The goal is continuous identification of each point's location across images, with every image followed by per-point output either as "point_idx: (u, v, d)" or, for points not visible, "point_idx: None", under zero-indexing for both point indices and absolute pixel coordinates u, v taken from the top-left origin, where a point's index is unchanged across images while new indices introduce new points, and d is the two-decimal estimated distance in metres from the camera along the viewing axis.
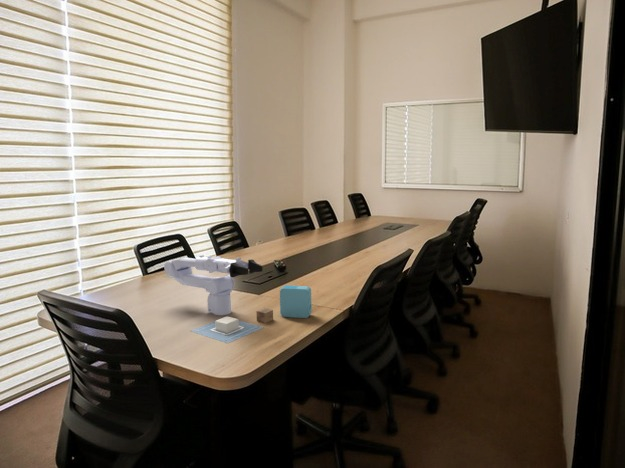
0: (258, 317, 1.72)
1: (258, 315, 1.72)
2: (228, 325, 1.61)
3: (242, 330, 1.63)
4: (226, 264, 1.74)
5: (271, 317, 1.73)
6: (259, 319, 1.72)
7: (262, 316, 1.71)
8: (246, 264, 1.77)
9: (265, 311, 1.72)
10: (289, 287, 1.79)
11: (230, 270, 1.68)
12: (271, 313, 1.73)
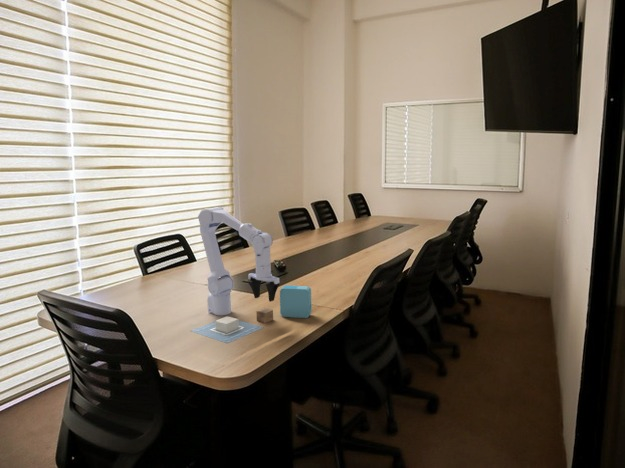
0: (258, 317, 1.72)
1: (258, 315, 1.72)
2: (228, 325, 1.61)
3: (242, 330, 1.63)
4: (270, 266, 1.70)
5: (271, 317, 1.73)
6: (259, 319, 1.72)
7: (262, 316, 1.71)
8: None
9: (265, 311, 1.72)
10: (289, 287, 1.79)
11: (275, 284, 1.67)
12: (271, 313, 1.73)
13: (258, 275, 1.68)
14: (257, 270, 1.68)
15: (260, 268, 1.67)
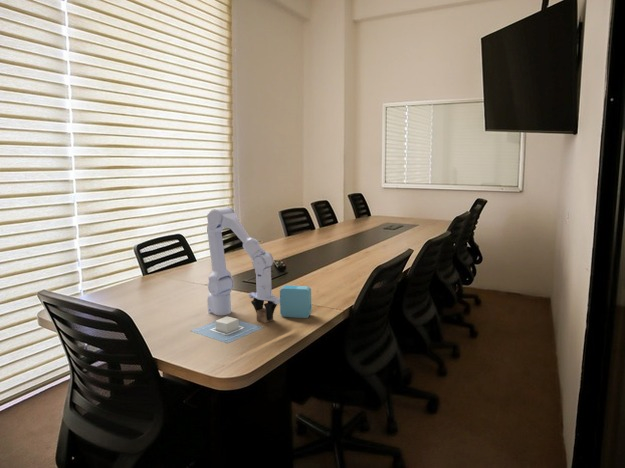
0: (258, 317, 1.72)
1: (258, 315, 1.72)
2: (228, 325, 1.61)
3: (242, 330, 1.63)
4: None
5: None
6: (259, 319, 1.72)
7: (262, 316, 1.71)
8: None
9: (265, 311, 1.72)
10: (289, 287, 1.79)
11: (273, 303, 1.69)
12: None
13: (259, 295, 1.70)
14: (258, 290, 1.70)
15: (261, 288, 1.69)
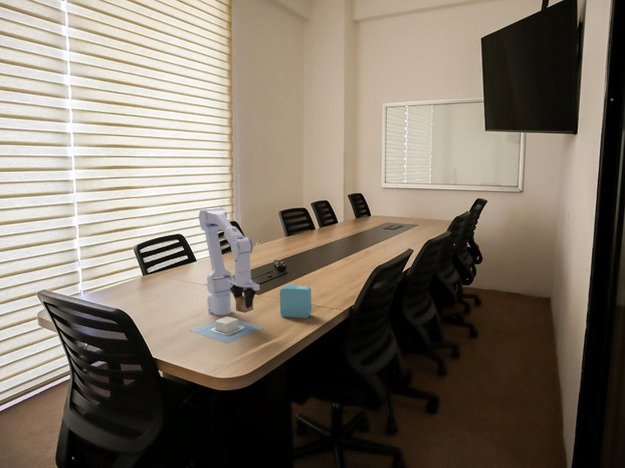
0: (237, 304, 1.66)
1: (237, 302, 1.66)
2: (228, 325, 1.61)
3: (242, 330, 1.63)
4: (250, 272, 1.65)
5: None
6: (238, 306, 1.66)
7: (241, 303, 1.65)
8: None
9: (244, 298, 1.66)
10: (289, 287, 1.79)
11: (252, 290, 1.64)
12: None
13: (237, 281, 1.64)
14: (236, 276, 1.64)
15: (239, 274, 1.63)
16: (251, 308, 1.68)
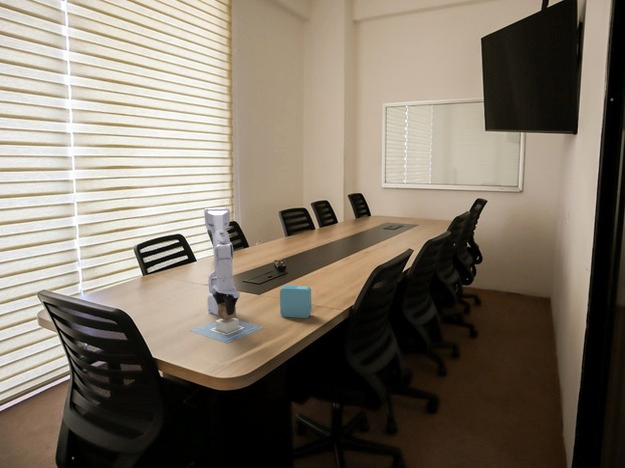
0: (219, 311, 1.63)
1: (219, 309, 1.63)
2: (228, 325, 1.61)
3: (242, 330, 1.63)
4: (231, 279, 1.61)
5: None
6: (220, 313, 1.63)
7: (222, 310, 1.61)
8: None
9: None
10: (289, 287, 1.79)
11: (233, 297, 1.59)
12: None
13: (218, 288, 1.60)
14: (217, 282, 1.60)
15: (220, 280, 1.59)
16: (233, 315, 1.63)
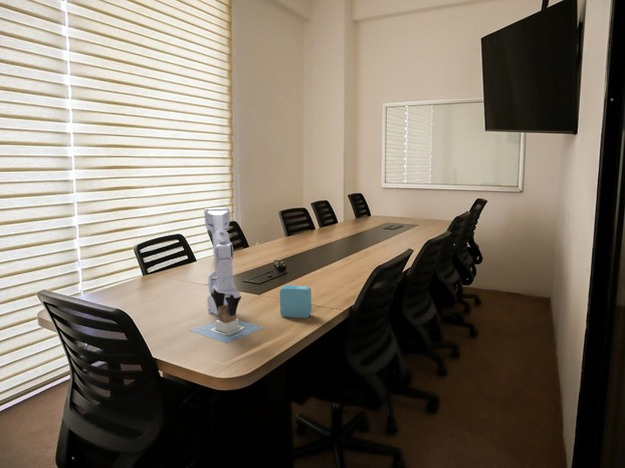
0: (219, 313, 1.63)
1: (219, 311, 1.63)
2: (228, 325, 1.61)
3: (242, 330, 1.63)
4: (231, 279, 1.61)
5: None
6: (220, 316, 1.63)
7: (222, 312, 1.62)
8: None
9: (226, 307, 1.62)
10: (289, 287, 1.79)
11: (235, 298, 1.58)
12: None
13: (218, 288, 1.60)
14: (217, 282, 1.60)
15: (220, 280, 1.59)
16: (233, 318, 1.63)
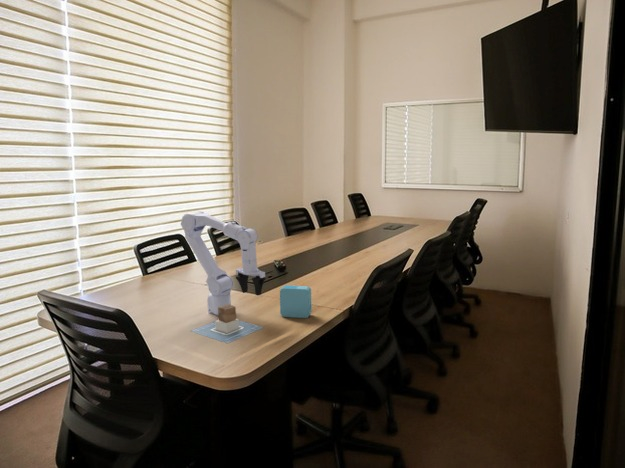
0: (219, 313, 1.63)
1: (219, 311, 1.63)
2: (228, 325, 1.61)
3: (242, 330, 1.63)
4: (256, 261, 1.74)
5: (233, 314, 1.63)
6: (220, 316, 1.63)
7: (222, 312, 1.62)
8: None
9: (226, 307, 1.62)
10: (289, 287, 1.79)
11: (261, 278, 1.72)
12: (234, 310, 1.63)
13: (244, 270, 1.73)
14: (243, 265, 1.73)
15: (246, 263, 1.72)
16: (233, 318, 1.63)
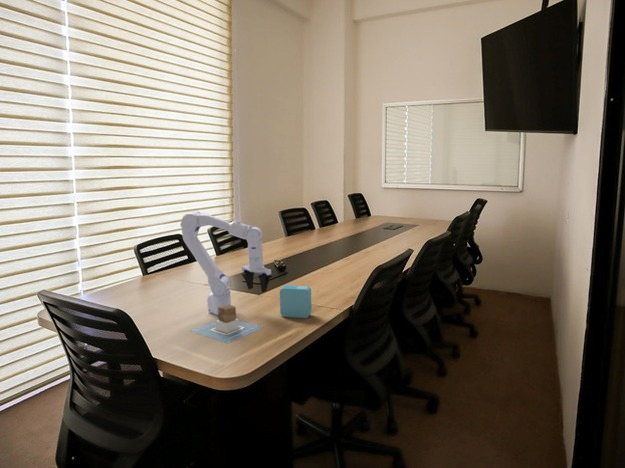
0: (219, 313, 1.63)
1: (219, 311, 1.63)
2: (228, 325, 1.61)
3: (242, 330, 1.63)
4: (262, 259, 1.79)
5: (233, 314, 1.63)
6: (220, 316, 1.63)
7: (222, 312, 1.62)
8: None
9: (226, 307, 1.62)
10: (289, 287, 1.79)
11: (267, 275, 1.77)
12: (234, 310, 1.63)
13: (251, 267, 1.77)
14: (250, 262, 1.77)
15: (252, 260, 1.77)
16: (233, 318, 1.63)
